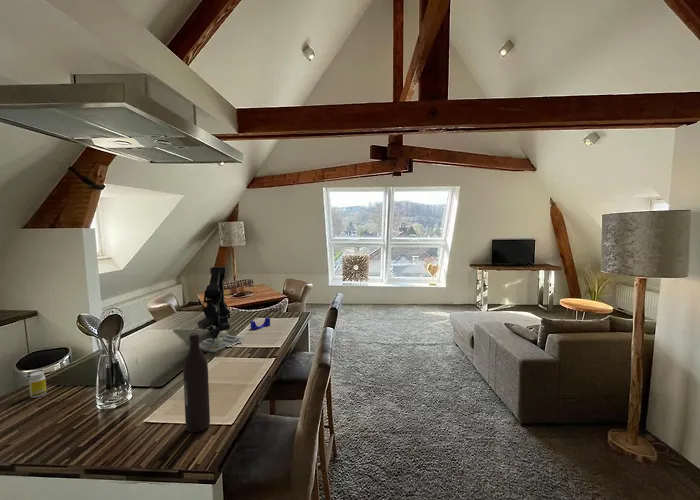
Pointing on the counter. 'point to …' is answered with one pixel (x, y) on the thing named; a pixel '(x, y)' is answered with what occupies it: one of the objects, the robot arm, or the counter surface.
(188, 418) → the wine bottle
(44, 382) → the supplement bottle
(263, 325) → the blue u-shaped bracket
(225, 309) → the robot arm
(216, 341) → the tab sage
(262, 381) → the counter surface
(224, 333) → the tab ivory
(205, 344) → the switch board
